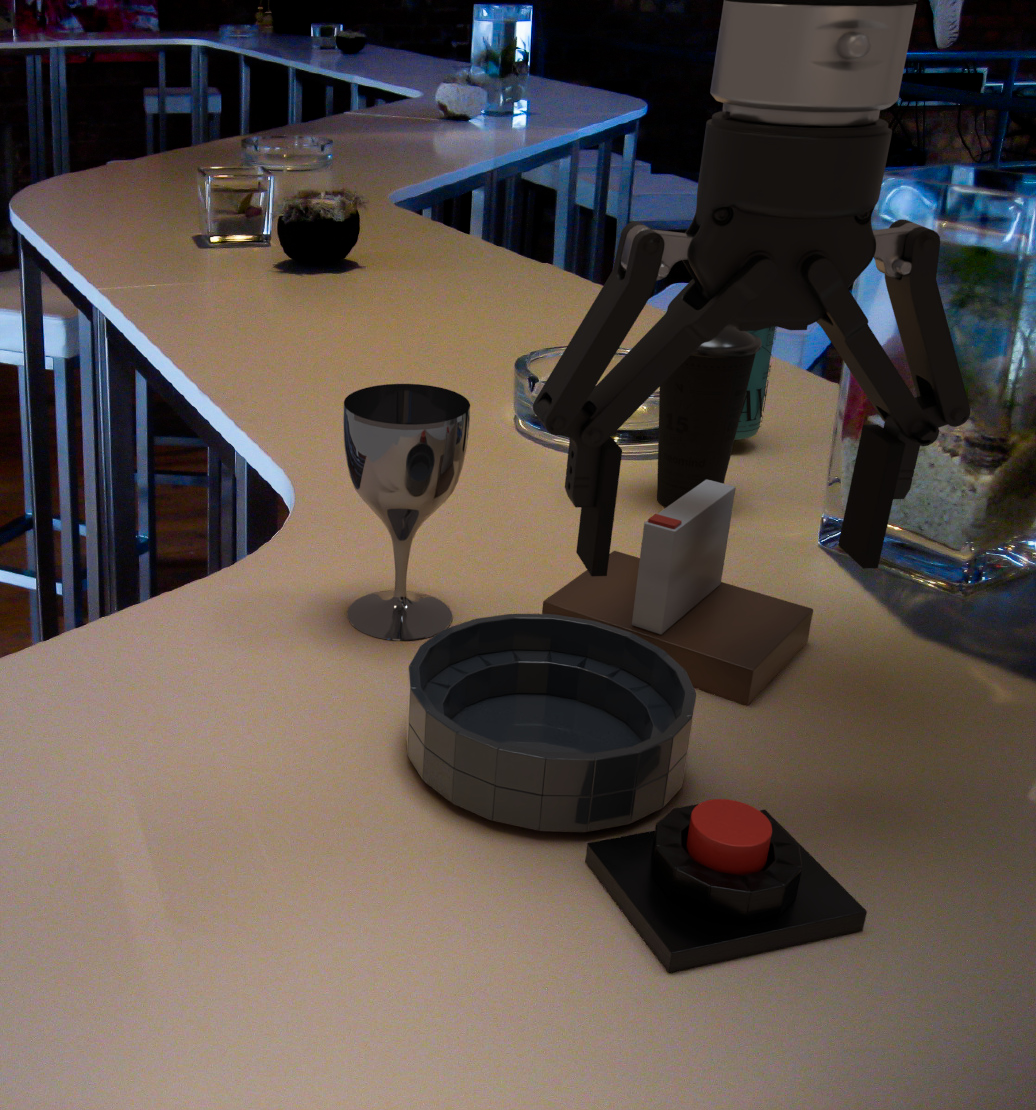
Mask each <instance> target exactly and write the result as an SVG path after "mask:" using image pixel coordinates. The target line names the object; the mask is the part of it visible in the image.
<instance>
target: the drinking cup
mask: <svg viewBox="0 0 1036 1110" xmlns="http://www.w3.org/2000/svg"><path fill="white" fill-rule="evenodd" d="M761 344H762V342H761V339H760V338H759V337H758V336H756V335H755V334H753V333H751V332H748V331H739V330H738V329H737V328H735V327H733V326H730V325H727V326H726V327H725V328H724V329H723V330H722V331H721V332H720V333H719V334H718V335H717V336H716V337H715V338H714V339H712V340H711V341H709V342H705V343H703V344H701V345H700V346H699V347H698V348H697V349H696V350H695V351H694V352H693V353H692V354H691V355H690V356H689V357H688V358H687V359H686V360H685V361H684V362H683V363H682V364H681V365H680V366H679V367H678V368H677V370H676V371H675V372H674V373H673V374H672V375H671V376H670V377H669V378H668V379H667V380H666V381H665V382H664V383H663V384H662V385H661V386H660V387H659V393H658V395H659V397H658V398H659V399H658V439H657V441H658V443H657V475H656V476H657V479H656V480H657V482H656V483H657V484H656V485H657V486H656V499H657V502H658V503H659V504H660V505H661V506H663V507H665V508H666V507H668V506H669V505H671V504H672V503H673V502H675V501H676V500H678V499H679V498H681V497H682V496H683V495H685V494H686V493H688V492H689V491H691V490H692V489H693V488H695V487H696V486H698V485H699V484H701V483H702V482H703V481H705V480H706V479H707V480H711V481H715V482H719V483H723V484H725V480H726V475H727V471H728V469H729V468H728V467H729V464H730V460H731V456H732V451H733V447H734V444H735V436H736V432H737V428H738V424H739V420H740V416H741V411H742V407H743V403H744V399H745V395H746V391H747V387H748V383H749V379H750V375H751V371H752V367H753V363H754V359H755V355H756V353H757V352H758V351H759V350H760V348H761Z"/></svg>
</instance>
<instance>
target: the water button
mask: <svg viewBox="0 0 1036 1110" xmlns="http://www.w3.org/2000/svg"><path fill="white" fill-rule="evenodd" d="M697 804H698V805H697V806H696V807H695V808H694V809H693V811H692V813H691V819H690V825H689V832H688V838H687V850H688V853H689V854H690V856H691V857H692V859H693V860H694V861H696V862H698V863H701V864H703V865H705V866H707V867H709V868H711V869H713V870H715V871H717V872H724V873H730V874H737V875H745V874H750V873H755V872H759V871H760V870H762V869H763V867H764V866H765V864H766V861H767V856H768V851H769V846H770V841H771V835H772V826H771V823H770V821H769V820H768V818H767V817H766V816H765V815H764V814H763V813H762V812H760V811H759V809H757V808H756V807H754V806H752V805H750V804H747V803H744V802H741V801H738V800H734V799H727V798H713V799H708V800H705V801H702V802H700V803H697Z"/></svg>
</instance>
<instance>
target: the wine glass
mask: <svg viewBox="0 0 1036 1110" xmlns="http://www.w3.org/2000/svg"><path fill="white" fill-rule="evenodd" d="M342 406H343V412H342V426H343V428H342V429H343V446H344V447H343V448H344V452H345V453H344V454H345V461H346V466H347V469H348V474H349V477H350V481H351V483H352V486H353V489H354V490H355V492H356V493H357V495H358V496H359V497H360V499H361V500H362V501H363V502H364V503H365V504H366V505H367V506H368V508H369V509H370V510H371V511H372V512H373V513H374V514H375V515H376V516H377V517H378V519H380V521H381V522H382V524H383V525H384V526H385V528H386V530H387V532H388V534H389V536H390V538H391V542H392V551H393V561H394V589H391V590H380V591H375V592H371V593H368V594H367V593H366V594H365V595H362V596H360V597H358V598H357V599H355V600H354V601H352V603H350V605H349V606H348V608H347V610H346V618H347V620H348V622H349V624H351V626H352V627H354V629H356V630H358V631H360V632H362V633H363V634H365V635H368V636H371V637H374V638H377V639H383V640H387V641H399V642H400V641H402V642H403V641H418V640H422V639H423V640H424V639H428V638H432V637H434V636H435V635H436V634H438V633H439V632H441V631H442V630H444V629H447V628H450V627H451V624H452V622H453V618H454V617H453V616H454V615H453V612H452V610H451V608H450V607H449V606H448V605H447V604H446V603H445V602H443V601H442V600H440V599H438V598H436V597H434V596H432V595H429V594H426V593H423V592H419V591H411V590H407V581H408V580H407V579H408V578H407V577H408V567H409V562H410V561H409V559H410V553H411V549H412V544H413V541H414V538H415V536H416V534H417V532H418V530H420V528H421V526H422V525H423V524H424V523H425V522H426V521H427V520H428V519H429V518H430V517H431V516H432V515H433V514H434V513H436V511H437V510H438V509H439V508H441V506H442V505H444V504H445V502H446V501H447V500H448V499H449V498H450V496H452V494H453V493H454V491H455V489H456V488H457V485H458V483H459V480H460V477H461V473H462V470H463V467H464V463H465V459H466V454H467V450H468V443H469V435H470V426H471V425H470V424H471V403H470V401H469V400H468V398H467V397H465V396H464V395H462V394H460V393H459V392H456V391H454V390H451V389H447V388H444V387H439V386H434V385H428V384H421V383H420V384H418V383H388V384H387V383H386V384H378V385H373V386H367V387H364V388H361V389H358V390H355V391H353V392H351V393H350V394H348V395H347V396H346V397H345V398H344V401H343V405H342Z"/></svg>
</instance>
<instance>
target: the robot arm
mask: <svg viewBox="0 0 1036 1110" xmlns="http://www.w3.org/2000/svg"><path fill="white" fill-rule="evenodd" d="M918 2H919V0H723V3H722V4H723V5H722V10H721V11H722V12H721V18H720V25H719V31H718V37H717V38H718V39H717V44H716V51H715V58H714V64H713V72H712V78H711V83H710V84H711V85H710V90H709V94H710V95H711V96H712V97H713V98H714V100H715V101H716V102H719V103H722V110H721V111H718V112H717V111H716V112H715V113H713V114H712V116H711V119H708V120H707V121H706V123H705V133H704V138H703V147H702V153H701V161H700V167H699V174H698V175H699V176H698V181H697V182H698V183H697V189H696V192H697V193H696V208H695V213H694V216H693V219H692V220H691V222H690V225H689V226H688V228H687V229H686V231H685V232H677V231H669V230H661V229H660V230H659V229H652V228H650V227H649V226H647V225H645V224H644V223H643V222H639V221H631V222H629V223H627V224H626V225H625V226H624V227H623V228H622V230H621V232H620V235H619V239H618V240H619V241H618V245H617V249H616V252H615V258H614V263H613V266H612V271H611V273H610V274H609V275H608V277H607V279H606V280H605V283H604V284H603V286H602V287H601V289H600V291H599V292H598V294H597V296H596V298H595V299H594V300H593V302H592V304H591V306H590V307H589V309H588V310H587V313H586V315H585V316H584V317H583V319H582V321H581V322H580V324H579V326H578V328H577V329H576V330H575V332H574V334H573V336H572V337H571V339H570V341H569V343H568V344H567V346H566V348H565V349H564V351H563V353H562V354H561V356H560V358H559V359H558V361H557V363H556V364H555V366H554V368H553V369H552V370H551V372H550V374H549V376H548V378H547V379H546V381H545V383H544V384H543V386H542V387H541V389H540V391H539V392H538V394H537V396H536V397H535V400H534V401H533V404H532V411H533V413H534V414H535V416H536V417H537V419H538V420H539V422H540V423H541V424H542V425H543V427H544V428H545V430H546V431H547V432H548V433H549V434H551V435H553V436H563V437H566V438H568V441H569V442H568V452H567V459H566V460H567V461H566V470H565V480H564V489H565V492H566V496H567V498H568V499H569V500H570V502H571V503H572V504H573V506H574V507H575V508H576V509H577V508H579V509H580V516H579V525H578V534H577V541H576V550H575V551H576V554H577V556H578V558H579V559H580V561H581V562H582V564H583V566H584V567H585V569H586V570H588V572H589V573H590V575H591V576H607V570H608V562H609V554H610V553H611V545H612V538H613V537H612V536H613V529H614V521H615V511H616V504H617V497H618V489H619V488H618V487H619V480H620V473H621V464H622V458H623V457H622V456H623V449H622V448H621V447H620V445H619V444H618V443H617V442H616V441H615V439H614V438H613V437H612V436H613V435H614V434H615V433H616V432H617V431H618V430H619V429H620V428H621V427H622V426H623V425H624V424H625V423H626V422H627V421H628V420H629V419H630V417H632V416H633V415H634V413H635V412H637V410H638V409H640V407H642V405H643V404H644V403H645V402H646V401H648V400H649V398H650V397H651V396H652V395H653V394H654V393H655V392H656V391H657V390H658V389H660V386H661V385H662V384H663V383H664V382H665V381H666V380H667V379H668V378H669V377H670V376H671V375H672V374H673V373H674V372H675V371H676V370H677V368H678V367H679V366H680V365H681V364H682V363H683V362H684V361H685V360H686V359H687V358H688V357H689V356H690V355H691V354H692V353H693V352H694V351H695V350H696V349H697V348H698V347H699V346H700V345H701V344H703V343H705V342H709V341H711V340H712V339H714V338H715V337H716V336H717V335H718V334H719V333H720V332H721V331H722V330H723V329H724V328H725V327H726V326H727V325H730V326H733V327H735V328H737V329H738V330H739V331H758V330H762V329H765V328H769V327H773V326H776V327H777V328H780V329H783V330H787V331H807V330H808V326H810V325H813V324H815V323H816V324H817V325H818V326H819V327H820V328H821V329H822V331H823V332H824V333H825V335H826V336H827V338H828V340H829V341H830V343H831V345H832V346H833V347H834V349H835V350H836V352H837V353H838V355H839V356H840V358H841V360H842V361H843V363H844V364H845V366H846V367H847V368H848V370H849V371H850V373H851V375H852V376H853V377H854V379H855V381H856V383H857V384H858V385H859V387H860V388H861V390H862V392H863V393H864V394H865V396H866V397H867V399H868V400H869V402H870V403H871V405H872V406H873V409H875V411H876V413H877V414H878V416H879V417H880V419H881V420H882V421H883V427H882V426H881V425H879V424H877V423H874V424H871V423H870V424H862V427H861V432H860V437H859V442H858V447H857V452H856V457H855V460H854V461H855V462H854V466H853V471H852V476H851V481H850V486H849V490H848V496H847V500H846V504H845V505H846V506H845V510H844V515H843V520H842V523H841V524H842V525H841V530H840V533H839V539H838V543H837V546H838V547H839V548H840V549H841V550H842V551H843V552H845V554H847V555H848V556H849V557H850V558H851V559H852V560H853V561H854V562H855V563H857V565H858V566H860V567H861V568H862V569H878V568H879V565H880V560H881V556H882V552H883V547H884V542H885V538H886V533H887V529H888V524H889V520H890V515H891V511H892V506H893V501H894V500H905V499H906V497H907V495H908V494H909V492H910V490H911V487H912V483H913V477H914V475H915V470H916V466H917V461H918V458H919V453H920V448H921V447H929V446H931V445H932V444H934V443H935V442H936V441H937V439H938V438H939V435H940V429H939V428H942V427H945V426H949V427H954V428H957V427H961V426H963V425H964V424H965V423H966V422H967V421H968V420H969V418H970V415H971V407H970V403H969V399H968V395H967V392H966V391H967V390H966V388H965V384H964V381H963V377H962V372H961V369H960V365H959V361H958V358H957V353H956V350H955V347H954V343H953V339H952V334H951V330H950V327H949V323H948V319H947V315H946V312H945V308H944V304H943V301H942V297H941V293H940V289H939V285H938V281H937V275H938V267H939V259H940V258H939V257H940V246H941V236H940V234H939V233H938V232H937V231H935V230H934V229H931V228H928V227H925V226H923V225H921V224H919V223H915V222H913V221H911V220H908V219H904V218H901V219H897V220H895V221H894V222H893V223H891V224H890V226H889V227H887V228H882V229H881V228H880V229H873V225H872V216H873V212H874V210H875V208H876V206H877V204H878V202H879V200H880V197H881V196H880V195H881V190H882V186H883V180H884V175H885V170H886V165H887V161H888V156H889V150H890V144H891V141H892V135H893V130H892V128H890V127H889V123H888V121H887V120H885V119H883V118H880V112H881V111H883V110H886V109H889V108H890V107H892V106H893V105H894V104H895V103H896V102H898V100H899V96H900V91H901V85H902V80H903V76H904V75H903V74H904V70H905V65H906V60H907V56H908V55H907V54H908V50H909V44H910V40H911V39H910V38H911V34H912V30H913V25H914V19H915V13H916V8H917V3H918ZM873 260H874V263H875V267H876V269H877V271H878V272H880V273H881V274H883V275H884V281H885V287H886V291H887V294H888V297H889V301H890V304H891V308H892V312H893V315H894V319H895V323H896V326H897V329H898V333H899V337H900V341H901V344H902V347H903V350H904V354H905V358H906V361H907V365H908V368H909V369H908V370H909V373H910V375H911V379H912V382H913V383H912V384H913V387H914V390H915V394H916V397H915V396H914V394H913V393H912V391H911V390H910V388H909V386H908V385H907V383H906V382H905V380H904V378H903V377H902V375H901V374H900V372H899V371H898V369H897V367H896V366H895V364H894V363H893V361H892V360H891V359H890V357H889V355H888V354H887V352H886V350H885V349H884V347H883V346H882V344H881V343H880V341H879V340H878V338H877V336H876V335H875V334H874V332H873V330H872V328H871V327H870V326H869V319H868V318H867V315H866V314H865V312H864V311H863V309H862V308H861V307H860V305H859V303H858V302H857V300H856V298H855V297H854V295H853V294H852V291H850V289H849V288H850V287H851V286H852V285H853V284H854V283H855V281H856V280H858V278H859V277H860V276H861V275H862V273H863V272H864V271H865V270H866V269H867V268H868V267H869V266H870V264H871V263H872V262H873ZM680 261H682V262H683V264H684V266H685V268H686V270H687V271H688V273H689V274H690V276H691V278H692V279H691V280H690V281H689V282H688V283H687V284H686V285H685V286H684V287H683V288H682V289H681V290H680V291H679V292H678V293H677V294H676V296H674V297H673V298H672V299H671V301H669V304H668V305H667V308H666V312H665V313H664V314H663V315H662V317H660V319H658V321H657V322H656V323H655V324H654V325H653V326H652V327H651V328H650V329H649V330H648V331H647V332H646V333H645V334H644V335H643V336H642V337H641V338H640V340H638V341H637V343H636V344H635V345H634V346H633V347H631V349H630V350H629V351H628V352H627V353H626V354H625V355H624V356H623V357H621V359H620V360H619V361H618V362H617V363H616V364H615V365H614V367H612V369H610V371H608V373H607V374H606V375H605V376H604V377H603V375H604V373H605V372H606V370H607V368H608V367H609V365H610V363H611V362H612V360H613V358H614V357H615V356H616V353H617V352H618V351H619V349H620V347H621V345H622V344H623V342H624V340H625V339H626V337H627V336H628V334H629V332H630V331H631V329H632V328H633V326H634V324H635V323H636V321H637V319H638V318H639V316H640V315H641V313H642V312H643V310H644V308H645V307H646V305H647V304H648V302H649V299H650V297H651V296H652V293H653V291H654V289H655V286H656V283H657V282H659V281H662V280H663V279H665V278H666V277H668V276H669V274H670V271H671V269H672V268H673V267H674V265H675V264H676V263H678V262H680ZM776 327H775V328H776ZM602 377H603V378H602ZM601 378H602V379H601Z"/></svg>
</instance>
